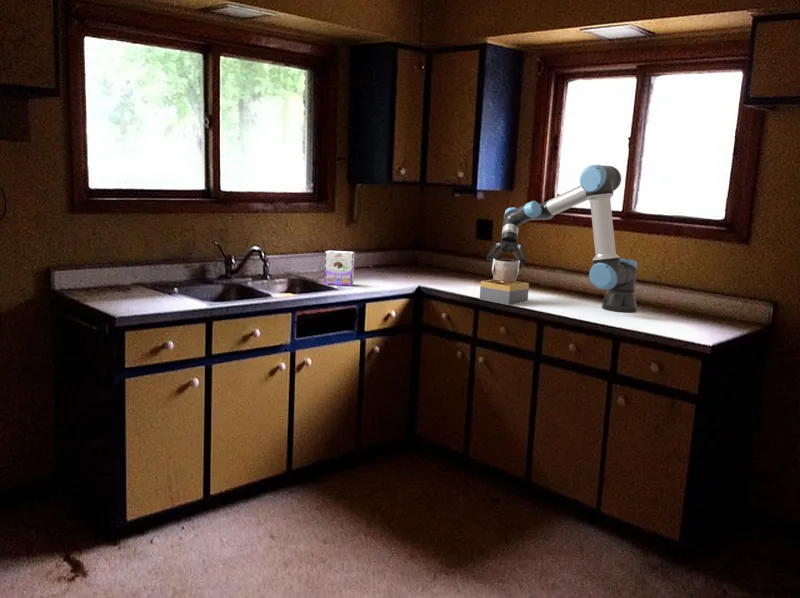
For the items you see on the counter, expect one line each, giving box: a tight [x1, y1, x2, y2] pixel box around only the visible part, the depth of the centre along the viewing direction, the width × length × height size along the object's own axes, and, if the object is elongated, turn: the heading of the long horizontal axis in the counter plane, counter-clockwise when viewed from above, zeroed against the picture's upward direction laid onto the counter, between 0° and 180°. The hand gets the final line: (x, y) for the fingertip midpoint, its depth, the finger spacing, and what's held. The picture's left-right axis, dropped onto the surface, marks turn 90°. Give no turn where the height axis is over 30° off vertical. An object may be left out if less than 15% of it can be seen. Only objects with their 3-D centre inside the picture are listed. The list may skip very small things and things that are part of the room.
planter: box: [492, 258, 518, 282], centre depth 344 cm, size 11×11×10 cm
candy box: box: [323, 250, 355, 287], centre depth 365 cm, size 14×6×16 cm, turn 84°
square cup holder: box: [479, 279, 530, 306], centre depth 345 cm, size 16×16×8 cm
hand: (505, 272), depth 341 cm, fingers closed on planter, 11 cm apart
